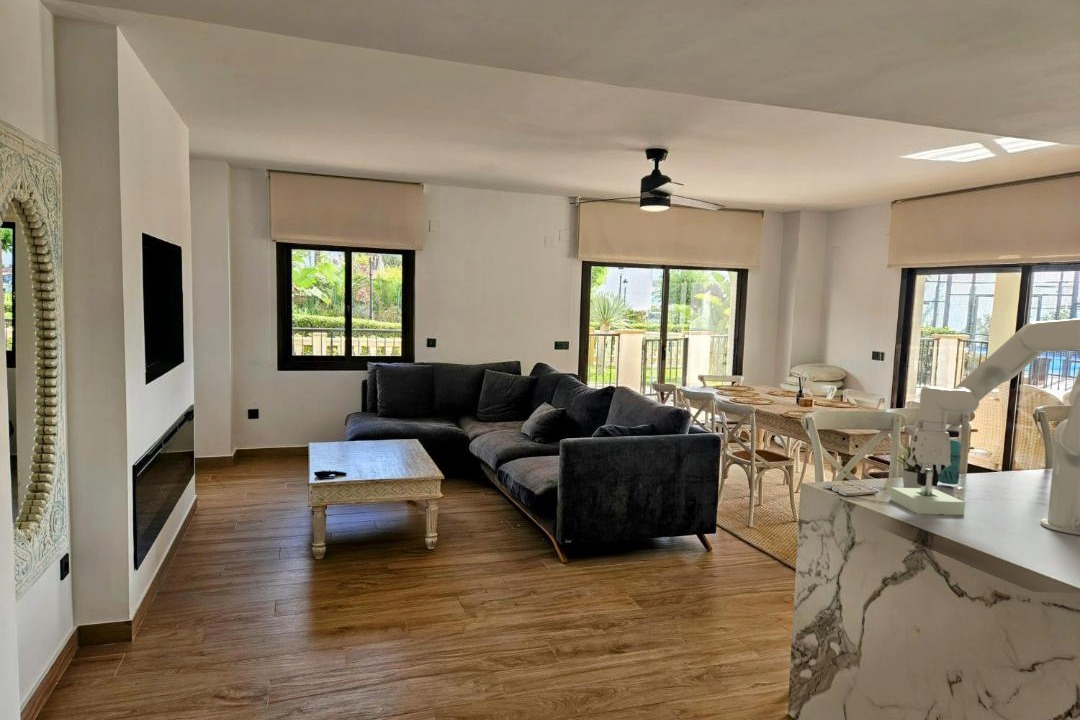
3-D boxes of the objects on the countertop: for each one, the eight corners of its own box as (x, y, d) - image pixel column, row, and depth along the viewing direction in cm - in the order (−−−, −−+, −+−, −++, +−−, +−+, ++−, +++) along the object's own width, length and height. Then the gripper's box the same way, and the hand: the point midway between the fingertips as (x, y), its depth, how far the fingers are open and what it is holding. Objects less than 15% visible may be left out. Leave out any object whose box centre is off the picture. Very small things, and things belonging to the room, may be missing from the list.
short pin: (965, 504, 210) (967, 489, 210) (956, 504, 210) (957, 488, 210) (959, 501, 213) (960, 486, 213) (950, 501, 213) (951, 486, 213)
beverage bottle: (932, 484, 235) (936, 428, 233) (946, 483, 237) (951, 428, 235) (948, 489, 228) (953, 432, 227) (963, 488, 230) (968, 431, 229)
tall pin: (933, 502, 204) (936, 470, 203) (923, 502, 204) (926, 470, 203) (927, 499, 207) (930, 468, 206) (918, 499, 207) (920, 468, 206)
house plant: (950, 493, 223) (954, 445, 222) (921, 496, 218) (924, 447, 217) (912, 482, 237) (916, 437, 235) (884, 485, 231) (887, 439, 230)
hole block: (963, 515, 198) (964, 502, 198) (917, 513, 198) (918, 500, 197) (933, 500, 213) (934, 488, 213) (890, 499, 213) (891, 487, 212)
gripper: (912, 427, 200) (907, 487, 201) (966, 429, 200) (961, 489, 201) (898, 423, 207) (894, 481, 209) (950, 425, 207) (945, 483, 209)
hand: (927, 484), depth 205 cm, fingers closed on tall pin, 3 cm apart
